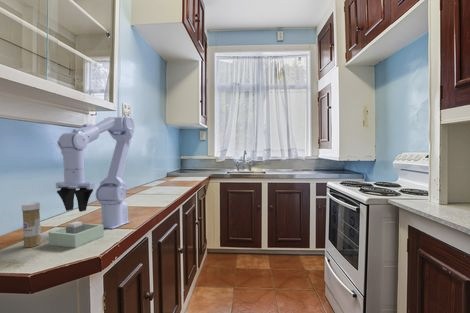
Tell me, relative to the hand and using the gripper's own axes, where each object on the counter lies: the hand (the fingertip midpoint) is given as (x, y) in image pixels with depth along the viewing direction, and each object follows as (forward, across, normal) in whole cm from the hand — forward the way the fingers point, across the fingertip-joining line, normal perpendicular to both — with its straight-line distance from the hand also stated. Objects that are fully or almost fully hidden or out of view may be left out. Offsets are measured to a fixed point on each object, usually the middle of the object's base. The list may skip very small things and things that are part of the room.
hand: (76, 210), depth 88 cm
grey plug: (+9, 0, -1) cm, 9 cm away
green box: (+10, 0, 0) cm, 10 cm away
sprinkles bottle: (+10, -10, -7) cm, 16 cm away
